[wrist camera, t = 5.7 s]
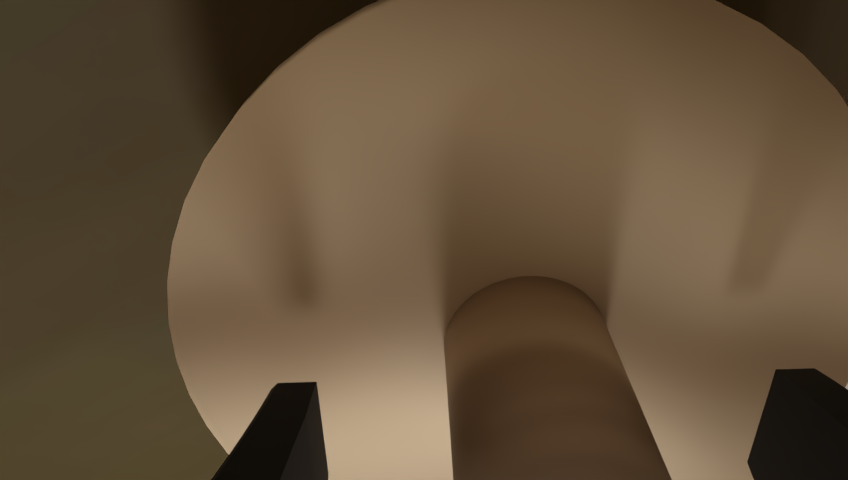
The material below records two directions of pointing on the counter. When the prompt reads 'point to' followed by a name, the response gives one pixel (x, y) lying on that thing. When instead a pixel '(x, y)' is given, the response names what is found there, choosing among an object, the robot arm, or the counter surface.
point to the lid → (521, 240)
